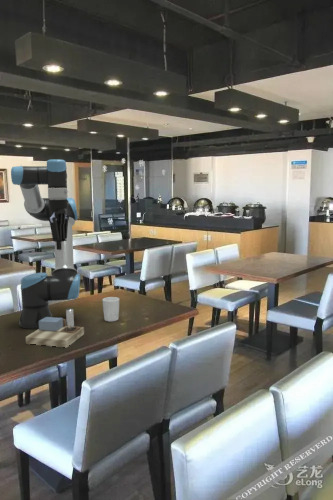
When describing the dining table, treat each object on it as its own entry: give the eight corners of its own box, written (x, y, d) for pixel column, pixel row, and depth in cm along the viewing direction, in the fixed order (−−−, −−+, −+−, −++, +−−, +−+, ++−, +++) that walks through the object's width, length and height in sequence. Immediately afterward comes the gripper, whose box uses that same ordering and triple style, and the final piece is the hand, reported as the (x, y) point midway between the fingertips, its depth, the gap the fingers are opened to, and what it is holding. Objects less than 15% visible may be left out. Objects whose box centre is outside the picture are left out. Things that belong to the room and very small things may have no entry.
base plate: (26, 344, 166) (25, 329, 165) (46, 330, 181) (46, 317, 180) (66, 347, 161) (65, 333, 160) (84, 333, 177) (83, 320, 176)
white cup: (116, 322, 191) (116, 301, 190) (100, 321, 193) (100, 300, 192) (121, 317, 199) (121, 297, 198) (106, 316, 201) (105, 296, 199)
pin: (65, 337, 172) (64, 310, 170) (69, 335, 175) (68, 308, 173) (72, 338, 171) (71, 310, 169) (75, 336, 174) (74, 308, 172)
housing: (39, 329, 173) (38, 321, 172) (46, 325, 179) (46, 316, 178) (56, 331, 171) (55, 322, 170) (63, 326, 177) (62, 318, 176)
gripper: (58, 199, 157) (61, 260, 160) (74, 198, 169) (76, 254, 173) (40, 199, 158) (44, 259, 162) (57, 198, 171) (60, 254, 174)
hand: (60, 257), depth 167 cm, fingers closed
